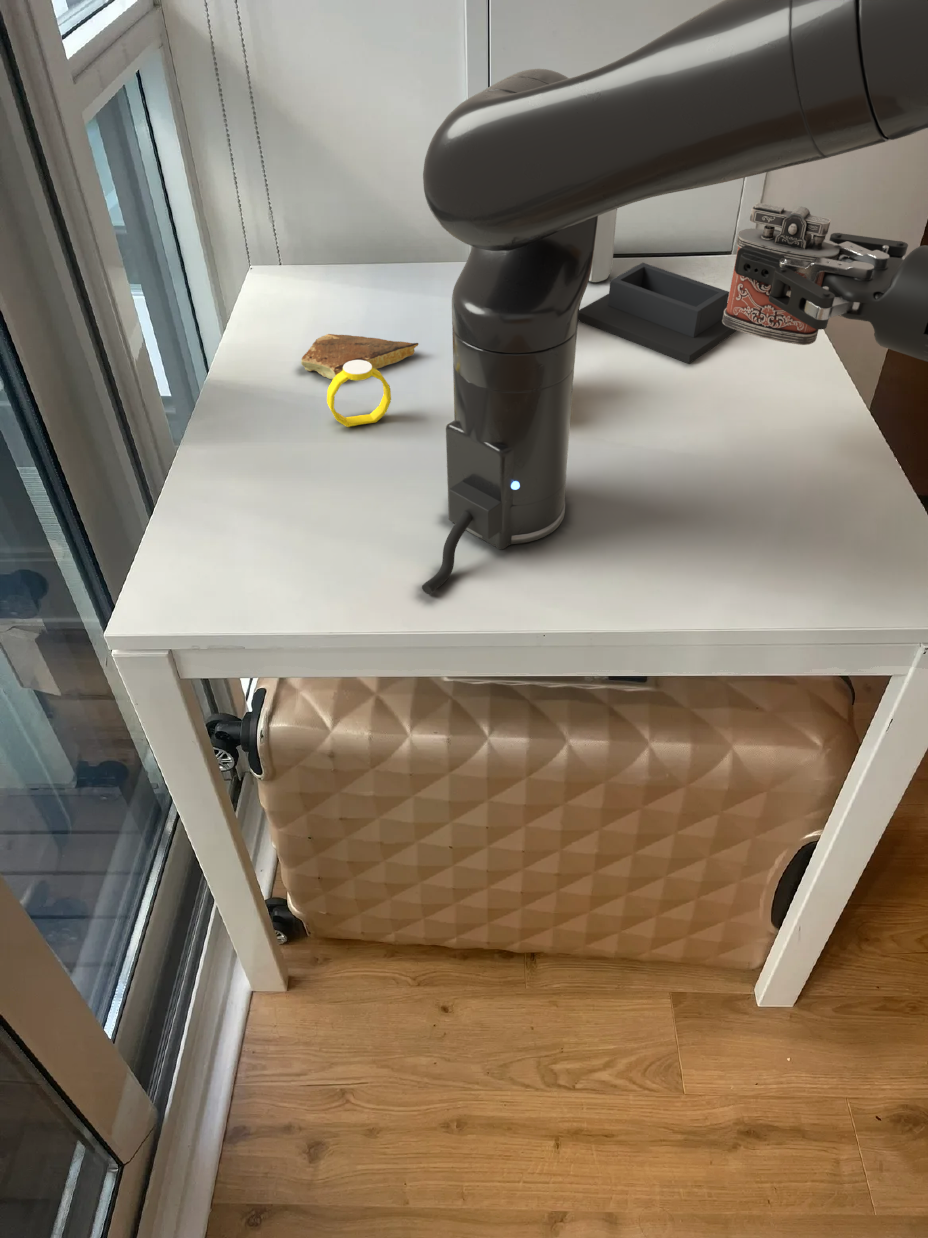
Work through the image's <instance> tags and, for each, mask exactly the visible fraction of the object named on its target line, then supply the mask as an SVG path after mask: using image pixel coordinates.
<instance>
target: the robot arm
mask: <svg viewBox="0 0 928 1238" xmlns="http://www.w3.org/2000/svg"><path fill="white" fill-rule="evenodd" d="M926 130H928V0H720V1H719V2H717V3H715V4H713V5H712V6H709V7H708V8H706V9H705V10H703V11H701V12H699V13H697V14H695V15H694V16H692V17H690V18H689V19H687V20H685V21H683V22H682V23H680V24H678V25H677V26H675V27H673V28H672V29H670V30H668V31H666V32H665V33H662V35H660V36H658V37H657V38H654V39H653V40H651V41H650V42H648V43H646V44H645V45H643V46H641V47H640V48H638V49H636V50H635V51H633V52H631V53H629V54H627V55H625V56H623V57H622V58H619V59H617V60H615V61H613V62H611V63H608V64H605V65H603V66H601V67H599V68H596V69H593V70H590V71H587V72H584V73H582V74H579V75H577V76H576V75H575V76H573V77H568V76H566V75H564V74H563V73H560V72H557V71H555V70H552V69H548V68H547V69H546V68H530V69H525V70H521V71H519V72H516V73H513V74H511V75H509V76H507V77H505V78H503V79H501V80H499V81H497V82H495V83H494V84H492V85H490V86H489V87H486V88H485V89H483V90H481V91H479V92H477V93H476V94H474V95H472V96H470V97H469V98H467V99H466V100H464V101H462V102H460V103H459V104H458V105H457V106H456V107H455V108H454V109H453V110H452V111H451V112H449V114H448V115H447V116H446V117H445V119H444V120H443V121H442V122H441V123H440V125H439V127H438V128H437V129H436V131H435V133H434V134H433V136H432V138H431V141H430V142H429V145H428V147H427V150H426V154H425V157H424V162H423V171H422V183H423V192H424V197H425V200H426V204H427V205H428V208H429V210H430V212H431V214H432V215H433V217H434V218H435V220H436V221H437V222H438V224H439V225H440V226H441V228H443V229H444V230H445V231H446V232H447V233H448V234H450V235H451V237H453V238H455V239H457V240H458V241H460V242H461V243H463V244H465V245H468V246H471V250H470V252H469V255H468V257H467V260H466V262H465V264H464V266H463V268H462V270H461V272H460V274H459V276H458V278H457V279H456V282H455V284H454V286H453V289H452V294H451V325H452V326H451V327H452V329H451V330H452V331H451V332H452V373H453V375H452V376H453V413H454V416H453V417H454V418H453V419H454V420H452V421H450V422H448V424H447V425H446V426H445V445H446V446H445V447H446V477H447V478H446V479H447V480H446V481H447V507H448V508H447V509H448V521H450V522H452V523H453V524H454V525H453V526H452V528H451V530H450V531H449V533H448V535H447V538H446V539H445V541H444V545H443V549H442V562H441V566H440V568H439V570H438V571H437V573H436V574H435V575H434V576H432V577H431V578H429V579H428V580H426V582H424V583H423V584H422V585H421V589H422V591H423V592H424V593H425V594H426V595H431V594H432V593H433V592H434V591H435V590H437V589H438V588H440V587H441V586H442V585H443V584H445V583H446V581H447V580H448V579H449V577H450V576H451V574H452V572H453V570H454V566H455V554H456V549H457V546H458V544H459V541H460V540H461V538H462V536H463V534H464V533H465V532H466V531H467V532H469V533H470V534H472V536H475V537H477V538H479V539H481V540H483V541H484V542H486V543H488V544H490V545H492V546H493V547H495V548H497V549H499V550H505V549H506V548H507V547H509V546H511V545H515V544H525V543H530V542H535V541H537V540H540V539H542V538H545V537H547V536H549V535H550V534H552V533H553V532H554V531H555V530H557V528H559V526H560V525H561V524H562V523H563V520H564V518H565V514H566V485H567V483H566V482H567V471H568V470H567V469H568V458H569V457H568V456H569V443H570V429H571V417H572V416H571V415H572V403H573V388H574V377H575V363H576V354H577V353H576V352H577V341H578V340H577V338H578V337H577V336H578V325H579V321H578V314H579V310H580V307H581V303H582V300H583V299H584V298H583V297H584V295H585V292H586V290H587V287H588V285H589V282H590V281H589V278H590V274H591V269H592V262H593V254H594V246H595V238H596V230H597V222H598V215H601V214H604V213H606V212H609V211H611V210H614V209H617V210H618V209H619V208H622V207H625V206H628V205H630V204H634V203H638V202H640V201H643V200H647V199H651V198H654V197H659V196H663V195H668V194H672V193H678V192H679V193H680V192H684V191H688V190H693V189H698V188H704V187H708V186H713V185H718V184H723V183H727V182H731V181H736V180H741V179H745V178H748V177H752V176H758V175H761V174H765V173H769V172H774V171H777V170H781V169H786V168H790V167H795V166H798V165H804V164H808V163H812V162H818V161H820V160H821V161H822V160H825V159H829V158H832V157H836V156H840V155H843V154H847V153H851V152H854V151H857V150H858V151H859V150H862V149H865V148H869V147H872V146H876V145H879V144H883V143H888V142H890V141H895V140H898V139H901V138H905V137H908V136H911V135H914V134H917V133H920V132H924V131H926ZM774 231H777V232H781V230H779V229H774ZM823 242H826V243H830V244H833V245H835V246H834V247H836V248H839V254H838V258H837V260H832V259H826V258H821V257H817V258H815V259H814V260H813V261H811V262H807V261H802V260H797V259H792V258H784V256H782V255H779V254H775V253H772V252H769V251H765V250H761V249H758V248H755V247H751V246H748V245H746V246H744V247H742V248H740V249H739V250H738V249H737V250H738V252H737V251H736V255H737V257H735V261H736V263H735V262H734V266H735V272H736V273H737V274H738V275H741V276H744V277H747V278H750V279H753V280H756V281H760V282H763V283H766V284H769V285H772V288H771V293H770V295H769V302H771V303H772V304H774V305H776V306H777V307H779V308H781V309H782V310H784V311H786V312H787V313H789V314H791V315H792V316H794V317H795V318H797V319H799V320H800V321H802V322H804V323H805V324H807V325H809V326H810V327H812V328H814V329H819V330H818V331H821V330H825V329H827V327H828V324H829V319H830V318H834V317H837V316H839V317H842V318H845V319H848V320H855V321H862V322H868V323H870V324H871V326H872V328H873V331H874V334H873V336H874V339H875V342H876V343H877V345H879V346H880V347H882V348H885V349H889V350H891V351H894V352H897V353H900V354H903V355H905V356H909V357H911V358H915V359H918V360H920V361H924V362H926V363H928V245H920V246H918V247H915V248H914V249H912V250H911V251H910V252H909V253H908V254H907V250H908V247H909V243H907V242H905V241H902V240H894V239H887V238H878V237H871V236H863V235H856V234H849V233H841V232H833V233H831V234H830V236H829V239H827V238H825V240H824V241H823ZM906 254H907V255H906ZM823 271H824V272H825V273H824V277H823V281H822V285H821V286H819V285H817V283H818V279H819V275H820V272H823ZM796 272H799V273H804V274H805V275H806V278H805V277H803V276H801V275H799V274H797V273H796ZM789 296H790V297H789Z"/></svg>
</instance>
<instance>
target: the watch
mask: <svg viewBox="0 0 928 1238" xmlns="http://www.w3.org/2000/svg"><path fill="white" fill-rule="evenodd" d="M371 377H374V378H375V379H377V380H380V382H381V383H382V390H383V395H382V397H381V399H380V402H379V405H378V406H376V408H375V409H373V410H372V411H371V413H367V414H360V415H359V414H358V415H352V416H344V415H342V414H340V413H339V412H337V410H336V409H335V397H336V394H337V392H338V391H339V389H340V387H341V386H342V385H343V384H344V383H346V382H347V381H349V380H351V381H363V380H364V381H365V380H367V379H370V378H371ZM391 400H392V392H391V386H390V385H389V382H387V380H386V379H385V377H384V375H383V374H382V373H381V371H379V370H378V369H374V368H373V367H372V365H371V364H370V363H369V362H367V361H364V360H352V361H349V362H347V363H345V364H344V365H343V371H341V372H340V373H339V374H337V375H336V376H335V377H334V378H333V379H331V382H330V384H329V386H328V387H327V390H326V403H327V406H328V408H329V410H330V412H331V414H332V415H333V417H334V419H335V421H336V422H338V423H340V424H341V425H343V426H345V427H346V428H350V427H355V426H361V425H366V424H367V425H368V424H375V423H377V422H379V420H381V418H383V417H384V416H385V415H386V414H387V412H388V410H389V408H390V404H391V403H392V401H391Z"/></svg>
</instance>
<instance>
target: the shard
mask: <svg viewBox="0 0 928 1238" xmlns="http://www.w3.org/2000/svg"><path fill="white" fill-rule="evenodd" d="M418 346H419V342H408V341H395V340H388V339H383V338H377V337H367V336H361V335H349V334H334V333H328V334H325V335H321V336H320V337H318V338H317V339H315V341H314V342H313V343H312V345H311V346H310V347H309V348H308V350H307V351H306V353H304V355H303V356H302V357H301V361H300V362H301V363H300V365H302V366H303V367H304V370H305V371H307V372H312V371H315V372H317V373H318V374H319V375H321V376H322V377H324V378H327V379H329V380H333V378H334V377H335V376H336V375H337V374H339V373H340V372H341V371H343V365H344V364H345V363H347V362H349V361H352V360H364V361H367V362H369V363H370V364H371V365H372V367H373V368H374V369H376V370H378V369H381V368H383V367H386V366H389V365H393V364H396V363H398V362H401V361H402V360H404V359H405V358H408V357H411V356H414V354H415V352H416V351H415V349H416V348H417V347H418Z"/></svg>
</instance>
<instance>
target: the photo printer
mask: <svg viewBox="0 0 928 1238" xmlns="http://www.w3.org/2000/svg"><path fill="white" fill-rule="evenodd" d="M617 213H618V208H617V209H614V210H611V211H609V212H606V213H604V214H601V215H598V222H597V230H596V238H595V246H594V254H593V262H592V269H591V274H590V278H589V281H588V282H591V283H600V282H603V281H605V280H607V279H608V278H609V277H610V274H611V273H612V271H613V264H614V263H613V261H614V249H615V239H616V238H615V237H616V226H617V216H618V215H617Z"/></svg>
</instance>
